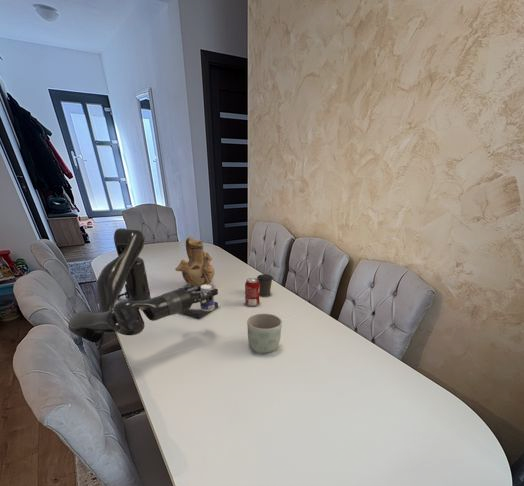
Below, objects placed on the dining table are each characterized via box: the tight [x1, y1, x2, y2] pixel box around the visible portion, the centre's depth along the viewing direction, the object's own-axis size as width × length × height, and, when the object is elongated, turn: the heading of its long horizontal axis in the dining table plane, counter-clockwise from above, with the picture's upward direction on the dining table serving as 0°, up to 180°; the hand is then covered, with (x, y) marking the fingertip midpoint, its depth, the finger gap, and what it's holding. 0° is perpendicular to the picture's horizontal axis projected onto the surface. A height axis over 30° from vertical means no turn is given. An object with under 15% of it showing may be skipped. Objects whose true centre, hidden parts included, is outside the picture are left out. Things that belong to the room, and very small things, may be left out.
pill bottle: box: [200, 284, 215, 312], centre depth 115 cm, size 5×5×9 cm
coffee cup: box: [256, 273, 274, 297], centre depth 155 cm, size 8×8×10 cm
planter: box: [246, 312, 283, 354], centre depth 112 cm, size 12×12×11 cm
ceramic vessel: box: [174, 236, 215, 287], centre depth 157 cm, size 18×19×25 cm
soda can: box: [244, 277, 261, 307], centre depth 144 cm, size 7×7×12 cm
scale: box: [178, 301, 219, 320], centre depth 140 cm, size 14×14×3 cm
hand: (211, 289), depth 115 cm, fingers closed on pill bottle, 5 cm apart
